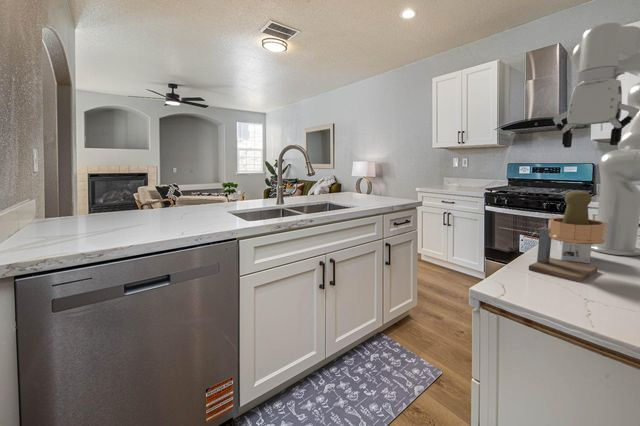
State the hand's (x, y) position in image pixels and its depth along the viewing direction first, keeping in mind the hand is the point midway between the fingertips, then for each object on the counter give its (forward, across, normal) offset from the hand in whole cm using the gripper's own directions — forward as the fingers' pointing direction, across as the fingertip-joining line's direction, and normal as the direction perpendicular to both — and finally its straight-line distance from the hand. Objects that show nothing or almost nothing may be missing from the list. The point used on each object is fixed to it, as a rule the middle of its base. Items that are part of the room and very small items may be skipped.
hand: (589, 146), depth 82 cm
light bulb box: (+33, +3, -6) cm, 33 cm away
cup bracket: (+32, -1, +10) cm, 34 cm away
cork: (+22, -2, +10) cm, 25 cm away
